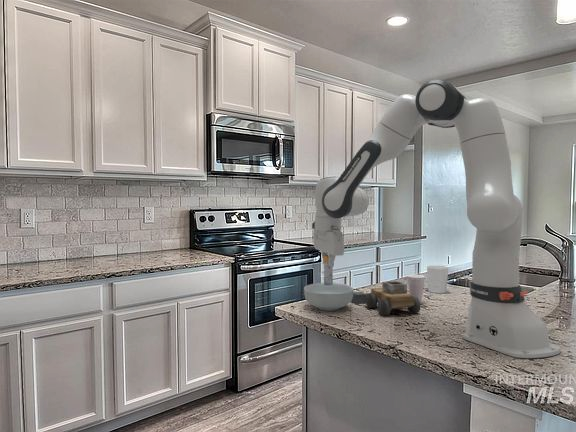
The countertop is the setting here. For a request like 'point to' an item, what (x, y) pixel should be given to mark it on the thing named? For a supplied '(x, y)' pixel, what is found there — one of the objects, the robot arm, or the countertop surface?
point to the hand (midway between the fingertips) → (328, 265)
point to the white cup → (437, 278)
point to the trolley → (392, 298)
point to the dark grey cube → (358, 298)
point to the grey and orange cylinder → (327, 272)
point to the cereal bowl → (328, 295)
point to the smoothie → (416, 284)
